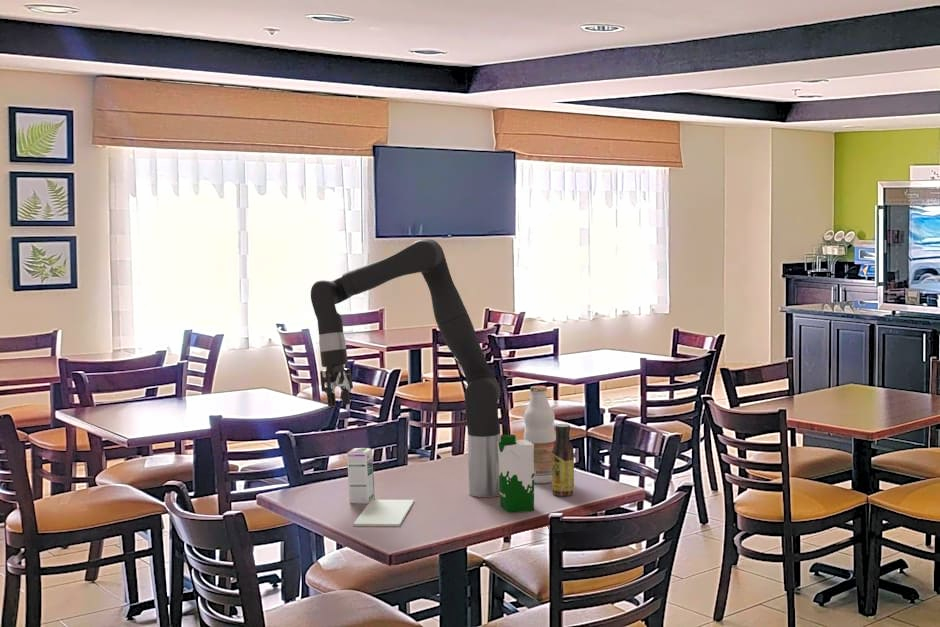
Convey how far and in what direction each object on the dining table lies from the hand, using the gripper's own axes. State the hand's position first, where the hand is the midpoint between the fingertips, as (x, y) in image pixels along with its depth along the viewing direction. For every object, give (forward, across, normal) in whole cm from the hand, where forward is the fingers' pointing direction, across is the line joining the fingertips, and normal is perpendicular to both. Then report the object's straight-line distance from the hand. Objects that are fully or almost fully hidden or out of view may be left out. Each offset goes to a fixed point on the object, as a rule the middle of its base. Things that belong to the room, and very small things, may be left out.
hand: (339, 405), depth 302 cm
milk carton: (+33, 0, -50) cm, 60 cm away
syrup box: (+27, -4, -6) cm, 28 cm away
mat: (+30, -14, -17) cm, 37 cm away
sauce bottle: (+33, +18, -57) cm, 68 cm away
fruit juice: (+30, +32, -46) cm, 64 cm away
